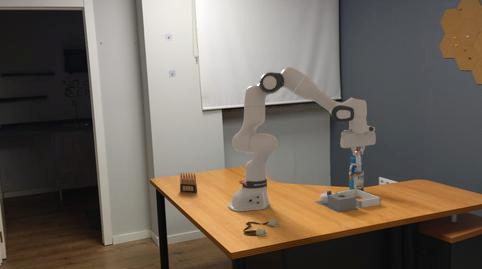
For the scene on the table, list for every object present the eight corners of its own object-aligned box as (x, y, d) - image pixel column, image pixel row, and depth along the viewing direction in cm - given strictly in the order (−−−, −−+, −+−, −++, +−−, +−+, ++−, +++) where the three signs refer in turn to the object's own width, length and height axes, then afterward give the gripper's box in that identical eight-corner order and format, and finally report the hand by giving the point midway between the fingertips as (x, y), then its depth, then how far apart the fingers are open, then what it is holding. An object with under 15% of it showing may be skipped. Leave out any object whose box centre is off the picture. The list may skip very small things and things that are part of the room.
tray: (360, 210, 235) (360, 201, 234) (336, 201, 253) (336, 192, 252) (380, 207, 240) (380, 197, 239) (356, 197, 258) (356, 189, 257)
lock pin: (358, 172, 241) (357, 148, 241) (356, 171, 244) (354, 148, 243) (362, 171, 242) (360, 147, 242) (359, 171, 244) (358, 147, 244)
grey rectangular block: (338, 215, 228) (338, 200, 227) (314, 204, 248) (314, 190, 247) (358, 211, 233) (358, 197, 232) (333, 201, 253) (333, 187, 252)
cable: (233, 233, 210) (233, 226, 210) (249, 222, 225) (249, 215, 224) (265, 238, 203) (265, 230, 203) (279, 226, 217) (279, 219, 217)
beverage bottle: (352, 188, 277) (352, 155, 274) (366, 190, 272) (366, 156, 269) (346, 192, 270) (346, 158, 267) (360, 193, 265) (360, 159, 262)
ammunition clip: (180, 192, 284) (179, 172, 282) (181, 191, 285) (180, 172, 284) (196, 193, 280) (195, 173, 279) (197, 192, 282) (196, 172, 280)
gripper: (345, 131, 234) (345, 158, 236) (377, 127, 242) (377, 153, 244) (337, 129, 239) (337, 156, 241) (369, 126, 247) (369, 151, 249)
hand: (358, 154), depth 243 cm, fingers closed on lock pin, 2 cm apart
